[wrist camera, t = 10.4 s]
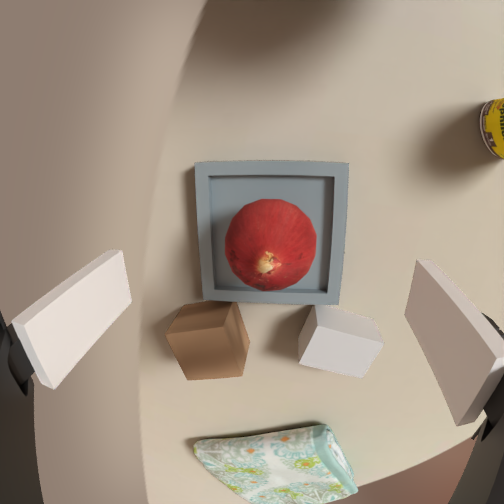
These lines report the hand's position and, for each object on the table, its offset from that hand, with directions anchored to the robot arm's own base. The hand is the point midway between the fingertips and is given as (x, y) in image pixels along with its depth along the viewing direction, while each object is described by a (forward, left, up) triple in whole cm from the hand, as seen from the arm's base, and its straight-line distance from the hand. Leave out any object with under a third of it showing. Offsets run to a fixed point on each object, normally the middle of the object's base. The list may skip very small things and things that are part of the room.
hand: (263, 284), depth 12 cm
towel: (+35, +2, -12) cm, 37 cm away
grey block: (+10, +6, -12) cm, 16 cm away
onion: (0, 0, -11) cm, 11 cm away
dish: (+1, 0, -12) cm, 12 cm away
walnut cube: (+10, -5, -12) cm, 16 cm away
